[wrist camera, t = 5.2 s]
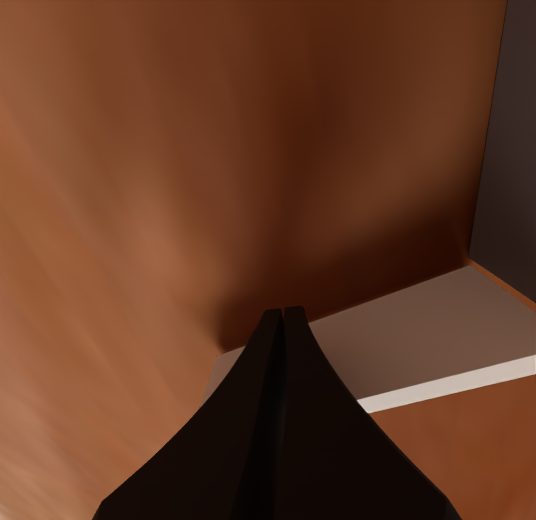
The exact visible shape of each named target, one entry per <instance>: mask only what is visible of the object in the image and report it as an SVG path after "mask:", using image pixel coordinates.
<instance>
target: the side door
mask: <svg viewBox="0 0 536 520" xmlns="http://www.w3.org/2000/svg"><path fill="white" fill-rule="evenodd" d="M308 324H309V326H310V329H311V331H312V333H313V335H314V337H315V339H316V340H317V342H318V344H319V346H320V348H321V350H322V351H323V353H324V355H325V356H326V358H327V359H328V361H329V363H330V364H331V366H332V367H333V369H334V370H335V372H336V373H337V375H338V376H339V377H340V379H341V380H342V381H343V383H344V384H345V386H346V387H347V388H348V390H349V391H350V392H351V393H352V395H353V396H354V397H355V399H356V400H357V401H358V402H359V404H360V405H361V406H362V407H363V408H364V410H365V411H366V412H367V413H371V412H376V411H380V410H384V409H388V408H393V407H397V406H401V405H405V404H410V403H414V402H418V401H422V400H427V399H431V398H435V397H439V396H444V395H448V394H452V393H456V392H461V391H465V390H469V389H473V388H478V387H482V386H486V385H490V384H495V383H499V382H503V381H507V380H512V379H516V378H520V377H524V376H529V375H533V374H536V312H534V311H533V310H531V309H530V308H529V307H527V306H526V305H524V304H523V303H522V302H520V301H519V300H517V299H516V298H515V297H513V296H512V295H511V294H509V293H508V292H506V291H505V290H504V289H502V288H501V287H499V286H498V285H497V284H495V283H494V282H492V281H491V280H490V279H488V278H487V277H486V276H484V275H483V274H481V273H480V272H479V271H477V270H476V269H474V268H473V267H472V266H470V265H469V266H466V267H463V268H461V269H458V270H455V271H452V272H449V273H447V274H444V275H441V276H438V277H436V278H433V279H430V280H427V281H424V282H422V283H419V284H416V285H413V286H411V287H408V288H405V289H402V290H399V291H397V292H394V293H391V294H388V295H385V296H383V297H380V298H377V299H374V300H372V301H369V302H366V303H363V304H360V305H358V306H355V307H352V308H349V309H347V310H344V311H341V312H338V313H335V314H333V315H330V316H327V317H324V318H322V319H319V320H316V321H313V322H310V323H308ZM244 348H245V346H244V347H241V348H238V349H235V350H233V351H230V352H227V353H224V354H221V355H219V356H216V359H215V362H214V366H213V369H212V372H211V375H210V378H209V381H208V384H207V387H206V390H205V393H204V397H203V400H202V403H201V406H202V405H203V404H204V403H205V402H206V400H207V399H208V398H209V397H210V396H211V394H212V393H213V392H214V391H215V389H216V388H217V387H218V386H219V384H220V383H221V382H222V380H223V379H224V378H225V376H226V375H227V374H228V372H229V371H230V369H231V368H232V366H233V365H234V363H235V362H236V360H237V359H238V357H239V356H240V354H241V353H242V351H243V349H244ZM201 406H200V407H201Z"/></svg>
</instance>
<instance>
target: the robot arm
mask: <svg viewBox="0 0 536 520" xmlns="http://www.w3.org/2000/svg"><path fill="white" fill-rule="evenodd" d="M92 520H462V519H461V517H460V516H459V514H458V513H457V511H456V510H455V508H454V507H453V505H452V504H451V502H450V501H449V500H448V498H447V497H446V496H445V495H444V494H443V493H442V492H441V491H440V490H439V489H438V488H437V487H436V486H435V485H434V484H433V483H432V482H431V481H430V480H429V479H428V478H427V477H426V476H425V475H424V474H423V473H422V472H421V471H420V470H419V469H418V468H417V467H416V466H415V465H414V464H413V463H412V462H411V460H410V459H409V458H408V457H407V456H406V455H405V454H404V453H403V452H402V451H401V450H400V449H399V448H398V447H397V446H396V445H395V444H394V442H393V441H392V440H391V439H390V438H389V437H388V436H387V435H386V434H385V433H384V432H383V431H382V429H381V428H380V427H379V426H378V425H377V424H376V422H375V421H374V420H373V419H372V418H371V417H370V415H369V414H368V413H367V412H366V411H365V410H364V408H363V407H362V406H361V405H360V404H359V402H358V401H357V400H356V399H355V397H354V396H353V395H352V393H351V392H350V391H349V390H348V388H347V387H346V386H345V384H344V383H343V381H342V380H341V379H340V377H339V376H338V375H337V373H336V372H335V370H334V369H333V367H332V366H331V364H330V363H329V361H328V359H327V358H326V356H325V355H324V353H323V351H322V350H321V348H320V346H319V344H318V342H317V340H316V339H315V337H314V335H313V333H312V331H311V329H310V326H309V324H308V321H307V319H306V316H305V310H304V308H303V307H302V306H295V307H287V308H285V314H284V321H283V317H282V312H281V308H279V309H271V310H266V311H265V312H264V313H263V315H262V317H261V319H260V321H259V323H258V325H257V327H256V329H255V330H254V332H253V334H252V336H251V338H250V339H249V341H248V343H247V344H246V346H245V348H244V349H243V351H242V353H241V354H240V356H239V357H238V359H237V360H236V362H235V363H234V365H233V366H232V368H231V369H230V371H229V372H228V374H227V375H226V376H225V378H224V379H223V380H222V382H221V383H220V384H219V386H218V387H217V388H216V389H215V391H214V392H213V393H212V394H211V396H210V397H209V398H208V399H207V400H206V402H205V403H204V404H203V405H202V406H201V407H200V409H199V410H198V411H197V412H196V413H195V414H194V415H193V417H192V418H191V419H190V420H189V421H188V422H187V423H186V424H185V425H184V426H183V427H182V428H181V429H180V430H179V431H178V432H177V433H176V434H175V435H174V436H173V437H172V438H171V439H170V440H169V441H168V442H167V443H166V444H165V445H164V446H163V447H162V448H161V449H160V450H159V451H158V452H157V453H156V454H155V455H154V456H153V457H152V458H151V459H150V460H149V461H148V462H147V463H145V464H144V465H143V466H142V467H141V468H140V469H139V470H138V471H136V472H135V473H134V474H133V475H132V476H131V477H130V478H128V479H127V480H126V481H125V482H124V483H123V484H122V485H120V486H119V487H118V488H117V489H116V490H115V491H114V492H112V493H111V494H110V495H109V496H108V497H106V498H105V499H104V500H103V501H102V502H101V504H100V506H99V508H98V509H97V511H96V513H95V515H94V517H93V519H92Z"/></svg>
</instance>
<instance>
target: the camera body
mask: <svg viewBox="0 0 536 520" xmlns="http://www.w3.org/2000/svg"><path fill="white" fill-rule="evenodd" d="M469 258H470V259H472V260H473V261H475V262H476V263H478V264H479V265H481V266H482V267H484V268H485V269H487V270H488V271H490V272H491V273H492V274H494V275H495V276H497V277H498V278H500V279H501V280H503V281H504V282H506V283H507V284H509V285H510V286H512V287H513V288H514V289H516V290H517V291H519V292H520V293H522V294H523V295H525V296H526V297H528V298H529V299H531V300H532V301H534V302H535V303H536V0H508V2H507V9H506V15H505V22H504V29H503V35H502V42H501V48H500V55H499V61H498V68H497V74H496V81H495V87H494V94H493V100H492V107H491V113H490V120H489V126H488V133H487V139H486V146H485V152H484V159H483V165H482V172H481V178H480V185H479V192H478V198H477V205H476V211H475V218H474V224H473V231H472V237H471V244H470V250H469Z"/></svg>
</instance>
